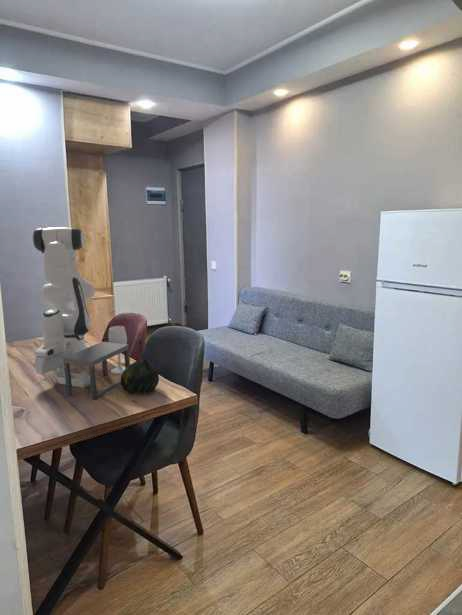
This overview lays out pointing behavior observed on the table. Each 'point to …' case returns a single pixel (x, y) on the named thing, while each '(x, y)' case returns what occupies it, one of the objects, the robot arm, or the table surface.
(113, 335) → the wineglass
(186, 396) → the table surface
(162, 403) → the table surface
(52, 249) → the robot arm
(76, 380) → the tray
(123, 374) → the squash
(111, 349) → the side table
